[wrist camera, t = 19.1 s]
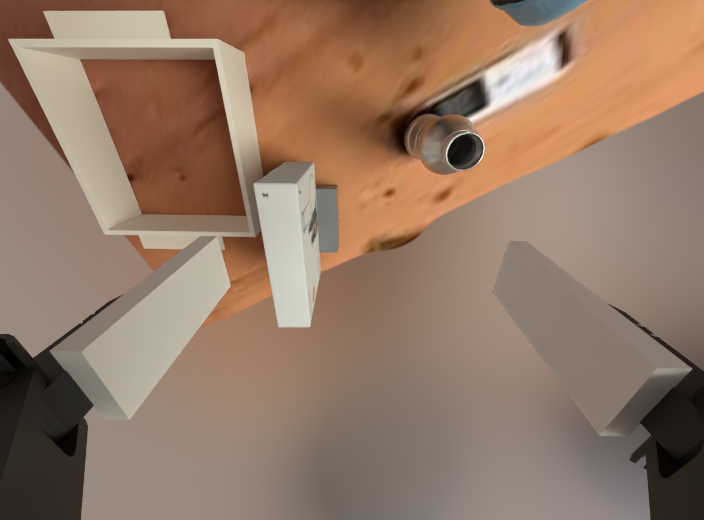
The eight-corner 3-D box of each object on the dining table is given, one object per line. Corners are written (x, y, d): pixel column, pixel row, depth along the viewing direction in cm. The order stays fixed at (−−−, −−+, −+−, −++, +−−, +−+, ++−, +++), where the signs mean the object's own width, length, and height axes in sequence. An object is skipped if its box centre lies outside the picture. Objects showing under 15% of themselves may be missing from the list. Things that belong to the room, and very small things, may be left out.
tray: (62, 30, 37) (-6, 11, 30) (240, 30, 37) (212, 10, 30) (144, 229, 52) (111, 247, 45) (271, 232, 52) (258, 250, 45)
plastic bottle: (438, 159, 44) (489, 188, 27) (398, 155, 44) (423, 183, 27) (448, 115, 41) (513, 117, 24) (405, 112, 41) (438, 110, 24)
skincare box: (323, 272, 52) (310, 329, 38) (296, 271, 52) (273, 328, 39) (317, 160, 42) (296, 183, 28) (283, 160, 42) (246, 182, 28)
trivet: (271, 184, 47) (265, 188, 44) (337, 185, 47) (336, 189, 44) (279, 244, 53) (275, 251, 50) (338, 245, 53) (337, 252, 50)
